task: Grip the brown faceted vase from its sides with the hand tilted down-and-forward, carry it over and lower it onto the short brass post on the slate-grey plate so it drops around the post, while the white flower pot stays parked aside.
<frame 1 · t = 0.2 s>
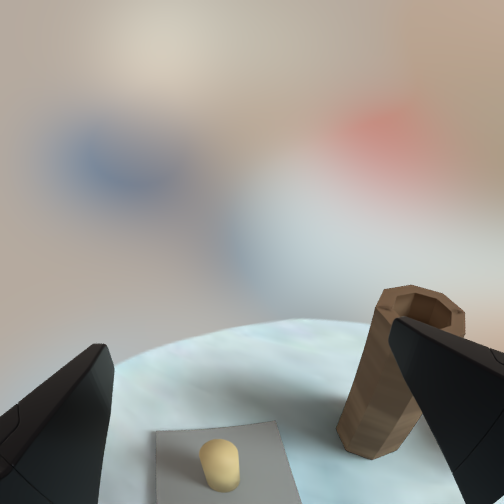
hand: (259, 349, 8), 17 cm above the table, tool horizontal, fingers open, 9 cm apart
brown faceted vase: (371, 429, 21), on the table
post stand: (224, 482, 17), on the table
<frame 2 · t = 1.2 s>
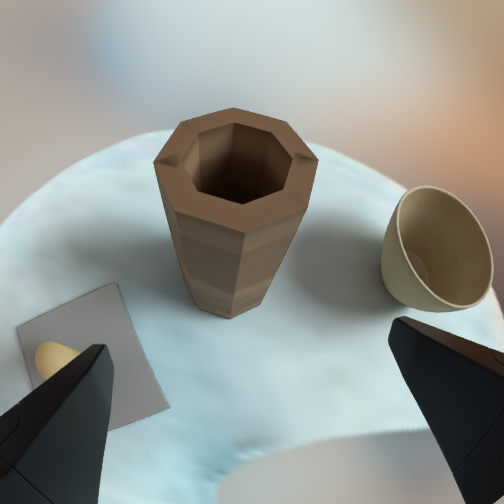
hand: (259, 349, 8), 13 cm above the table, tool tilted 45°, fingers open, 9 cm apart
flower pot: (402, 277, 25), on the table
brown faceted vase: (226, 277, 23), on the table
post stand: (84, 368, 18), on the table
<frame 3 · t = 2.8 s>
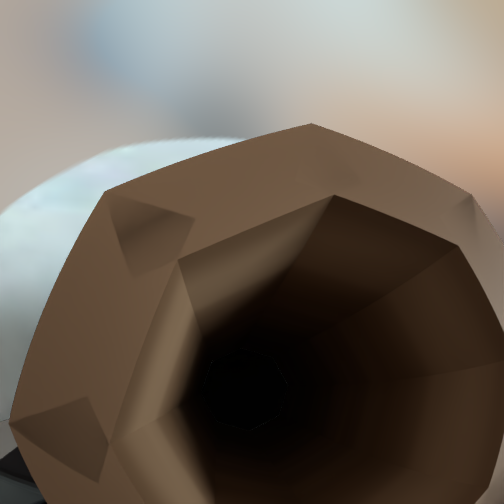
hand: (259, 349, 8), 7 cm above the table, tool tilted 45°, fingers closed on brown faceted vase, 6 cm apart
brown faceted vase: (245, 389, 14), on the table, touching gripper
post stand: (58, 494, 9), on the table
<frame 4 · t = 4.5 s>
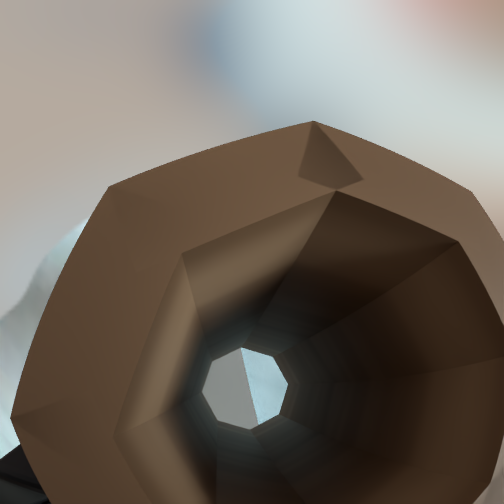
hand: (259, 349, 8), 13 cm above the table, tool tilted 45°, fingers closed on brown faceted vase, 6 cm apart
brown faceted vase: (245, 388, 14), point 7 cm above the table, touching gripper
post stand: (181, 409, 19), on the table
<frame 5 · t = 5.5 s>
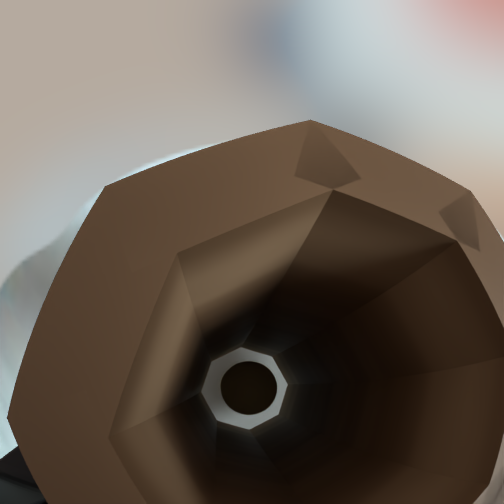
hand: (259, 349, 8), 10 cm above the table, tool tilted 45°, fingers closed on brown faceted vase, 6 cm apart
brown faceted vase: (244, 388, 14), point 3 cm above the table, touching gripper
post stand: (240, 385, 17), on the table
when the fingers open (9 cm above the table, at t = 6.2 s): brown faceted vase drops 1 cm, resting on post stand.
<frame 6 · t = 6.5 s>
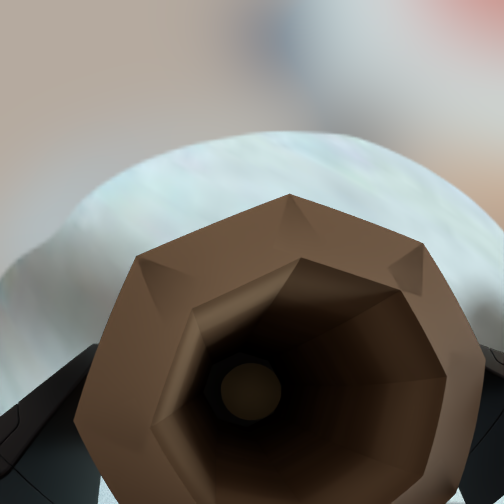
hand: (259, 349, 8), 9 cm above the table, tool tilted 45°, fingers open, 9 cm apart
brown faceted vase: (243, 389, 15), point 1 cm above the table, touching post stand
post stand: (241, 388, 16), on the table
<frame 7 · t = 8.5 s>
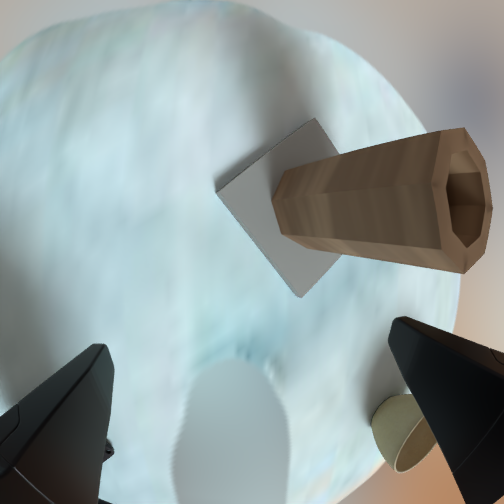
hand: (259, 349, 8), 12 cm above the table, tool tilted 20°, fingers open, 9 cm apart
flower pot: (384, 412, 30), on the table
brown faceted vase: (310, 205, 22), point 1 cm above the table, touching post stand
post stand: (304, 205, 23), on the table
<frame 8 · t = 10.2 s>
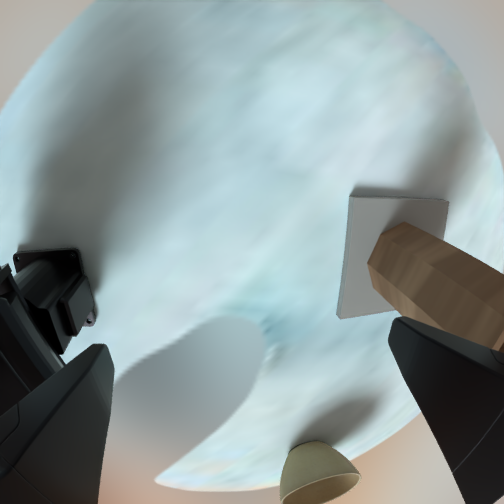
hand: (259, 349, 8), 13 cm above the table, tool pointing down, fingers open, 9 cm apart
flower pot: (306, 449, 32), on the table
brown faceted vase: (399, 259, 23), point 1 cm above the table, touching post stand
post stand: (394, 255, 23), on the table
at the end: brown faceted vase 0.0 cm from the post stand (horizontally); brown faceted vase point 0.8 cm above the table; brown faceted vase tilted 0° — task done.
